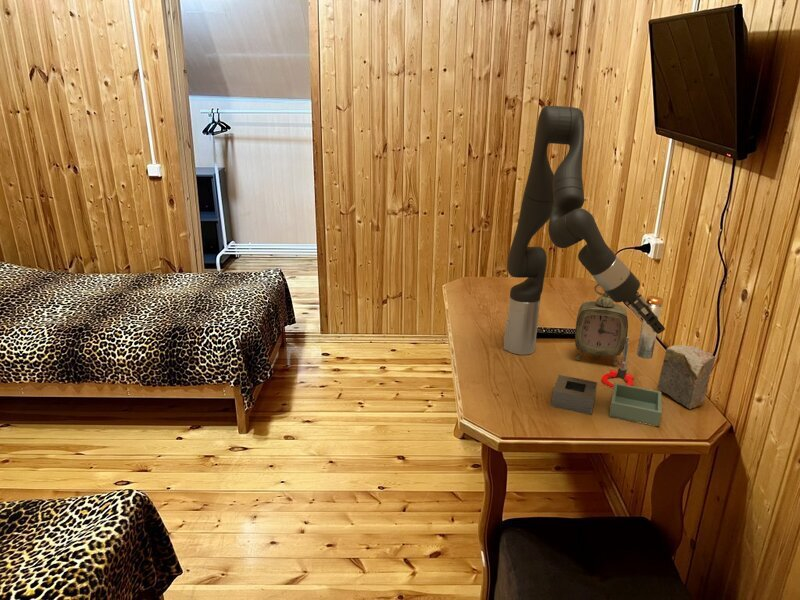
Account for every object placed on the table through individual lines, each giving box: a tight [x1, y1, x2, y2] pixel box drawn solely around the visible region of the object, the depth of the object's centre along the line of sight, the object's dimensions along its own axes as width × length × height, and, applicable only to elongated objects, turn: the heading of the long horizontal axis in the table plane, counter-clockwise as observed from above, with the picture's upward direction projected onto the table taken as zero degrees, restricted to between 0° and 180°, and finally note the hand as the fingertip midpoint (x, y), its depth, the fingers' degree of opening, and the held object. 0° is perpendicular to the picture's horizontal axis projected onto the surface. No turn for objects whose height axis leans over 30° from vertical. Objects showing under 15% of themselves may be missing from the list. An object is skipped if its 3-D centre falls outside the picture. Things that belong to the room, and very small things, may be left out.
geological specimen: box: [657, 344, 716, 410], centre depth 151 cm, size 11×6×15 cm, turn 24°
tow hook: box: [601, 336, 635, 389], centre depth 160 cm, size 8×13×9 cm
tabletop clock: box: [574, 283, 629, 367], centre depth 172 cm, size 14×9×25 cm, turn 72°
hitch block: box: [550, 374, 598, 416], centre depth 150 cm, size 10×10×4 cm
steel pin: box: [636, 295, 664, 360], centre depth 140 cm, size 4×4×15 cm
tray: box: [608, 382, 663, 427], centre depth 147 cm, size 12×12×4 cm
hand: (657, 327), depth 139 cm, fingers closed on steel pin, 3 cm apart
